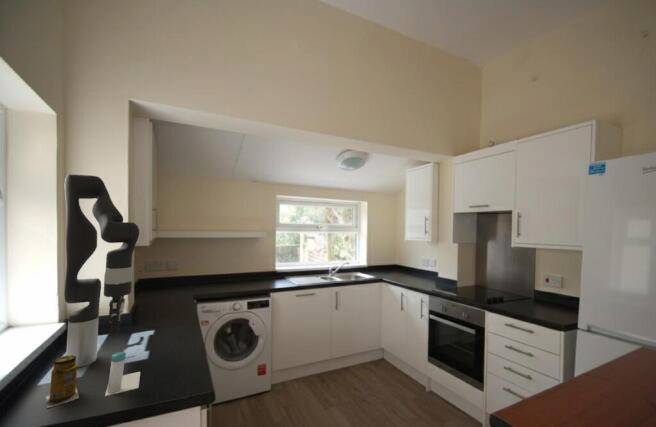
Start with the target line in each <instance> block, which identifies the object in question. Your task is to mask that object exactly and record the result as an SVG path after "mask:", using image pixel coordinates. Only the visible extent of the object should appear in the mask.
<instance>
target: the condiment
mask: <svg viewBox="0 0 656 427" xmlns="http://www.w3.org/2000/svg"><path fill="white" fill-rule="evenodd" d="M77 371H78V368H77V364H76V356H74V355H69V356H66V355H63V356H61V357H58V358H56V359H55V360H54V361H53V369H52V370H51V372H50V373H51V374H50V388H49V389H50V390H49V394H48V395H46V396H45V402H46V404H45V406H46V409H48V408H52V407H56V406H59V405H62V404H65V403H68V402H71V401H75V400H77V399H79V398H80V396H79V392H78V388H77V378H78V377H77Z"/></svg>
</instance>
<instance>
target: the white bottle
mask: <svg viewBox="0 0 656 427" xmlns="http://www.w3.org/2000/svg"><path fill="white" fill-rule="evenodd" d="M126 354H127V353H126V352H125V351H120V352H115V353H113V354H111V364H110V369H109V370H110V371H109V377H108V384H107V387H108V393H116V392H118V391H120V390H121V385H122V377H123V375H124V368H125V359H126ZM116 394H117V393H116Z"/></svg>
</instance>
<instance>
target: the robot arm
mask: <svg viewBox="0 0 656 427" xmlns="http://www.w3.org/2000/svg"><path fill="white" fill-rule="evenodd" d="M63 184H64V197H65V199H64V200H65V209H66V211H65V212H66V229H65V250H66V252H65V253H66V255H65V256H66V270H65V282H64V301H65V302H66V303H67V304H69V305H70V304H71V305H73V304H80V303H88V305H86V306H84V307H83V308H80V309H77V310H74V311H73V312H70V314H69V315H68V319H67V337H66V355H65V356H69V355H74V356H76V364H77V369H78V368H82V367H85V366H88V365H91V364H93V363H94V362H96V361H97V358H98V356H97V355H98V338H99V337H98V335H99V316H100V315H99V313H100V301H101V293H102V292H101V290H102V281H101V280H100V278H96V277H95V278H84V279H83V278H81V279H78V275H79V272H80V271H81V269H82V267H83V266H85V264H86V262H87V261H89V259H90V258H91V257H92V256H93V255H94V253H95V252H96V250H97V247H98V230H97V229H96V227H95V226H94V225H93V223H92V222H91V221H90V220H89V219H88V217H87V216H86V215H85V214H84V212H83V210H82V208H81V205H80V199H81V200H85V199H86V200H93V199H96V200H95V202H94V204H93V205H92V209H91V213H92V214H93V215H92V216H93V218H95V220H96V221H97V223H98V225H99V229H100V238H101V239H102V241H104V242H106V243H108V244H117V243H118V244H120V243H121V244H122V245H121V246H119V247H118V248H116V249H112V250H109V251H108V252H107V253H106V257H105V258H106V259H105V272H104V277H103V278H104V279H103V296H104V297H106V298H112V299H111V300H110V301H109V303H108V306H109V307H108V309H109V311H108V315H109V317H108V322H109V323H110V326H109V334H110V335H114V334H118V333H119V331H120V326H121V325H122V323H123V313H124V309H125V305H126V303H125V302H126V298H125V296H128V295H130V294H131V293H132V285H133V284H132V283H133V282H132V281H133V270H132V269H133V268H132V265H133V264H132V263H133V253H134V250H135V247H136V244H137V241H138V239H139V238H140V237H139V236H140V228H139V226H138V225H137V223H135V222H131V221H129V222H128V221H125V222H124V216H123V215H122V213H121V212H120V210H118V208H117V207H116V206H115V204H114V202H113V200H112V198H111V196H110V193H109V191H108V189H107V186H106V185H105V182H104V180H102V179H101V177H99V176H96V175H90V174H88V175H87V174H75V173H74V174H68V175H66V177H65V179H64V183H63Z"/></svg>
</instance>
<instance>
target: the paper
mask: <svg viewBox="0 0 656 427" xmlns="http://www.w3.org/2000/svg"><path fill="white" fill-rule="evenodd" d="M140 377H141V371H137V372H132V373H127V374H123V377H122V385H121V390H120V391H118V392H116V393H108V386H107V388H106V390H105V393H104V394H105V395H104V397H109V396H111V395H116V394H119V393H124V392H127V391H132V390H136V389H139V388H140V387H139V386H140Z"/></svg>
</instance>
